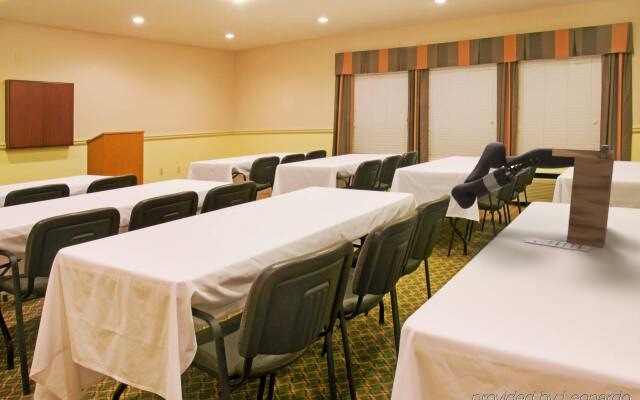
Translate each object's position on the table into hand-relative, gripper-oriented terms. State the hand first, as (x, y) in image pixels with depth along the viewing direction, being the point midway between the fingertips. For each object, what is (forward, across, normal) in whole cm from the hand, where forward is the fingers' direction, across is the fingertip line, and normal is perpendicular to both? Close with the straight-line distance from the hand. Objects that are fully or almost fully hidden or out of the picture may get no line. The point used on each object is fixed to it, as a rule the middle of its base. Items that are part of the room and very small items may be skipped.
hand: (535, 160), depth 197 cm
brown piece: (+2, -1, -36) cm, 36 cm away
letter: (-5, +7, -32) cm, 33 cm away
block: (+15, -1, -6) cm, 16 cm away
